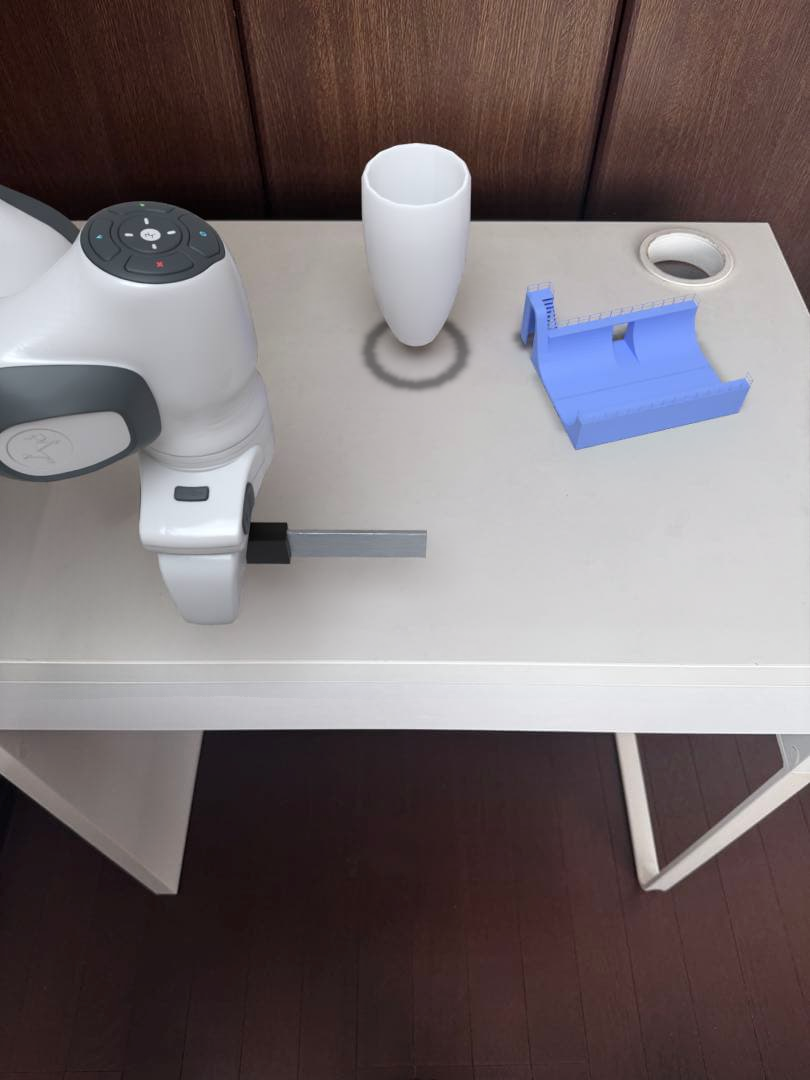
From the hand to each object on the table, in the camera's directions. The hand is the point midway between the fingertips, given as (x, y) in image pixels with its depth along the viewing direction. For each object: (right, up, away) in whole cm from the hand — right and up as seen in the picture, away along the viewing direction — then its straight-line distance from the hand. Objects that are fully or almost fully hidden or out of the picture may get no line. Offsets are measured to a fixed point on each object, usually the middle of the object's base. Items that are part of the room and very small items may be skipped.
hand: (238, 544), depth 70 cm
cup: (+15, +21, +25) cm, 36 cm away
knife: (+6, -1, +1) cm, 6 cm away
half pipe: (+37, +18, +23) cm, 47 cm away
